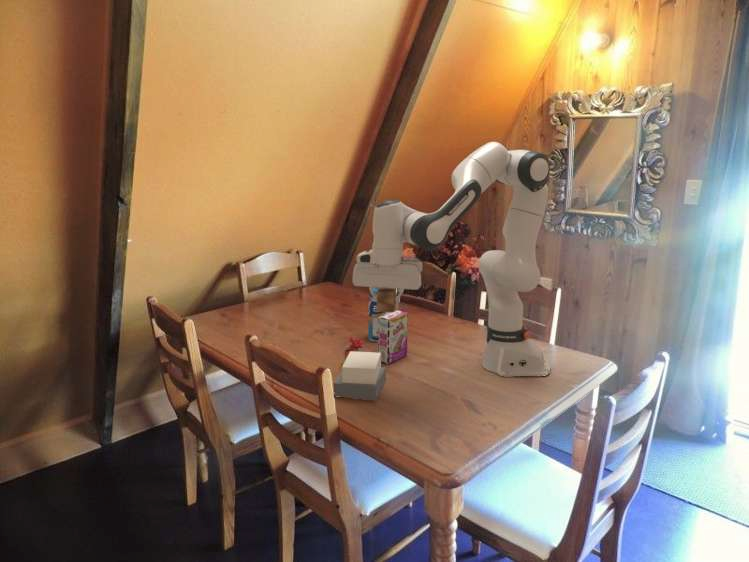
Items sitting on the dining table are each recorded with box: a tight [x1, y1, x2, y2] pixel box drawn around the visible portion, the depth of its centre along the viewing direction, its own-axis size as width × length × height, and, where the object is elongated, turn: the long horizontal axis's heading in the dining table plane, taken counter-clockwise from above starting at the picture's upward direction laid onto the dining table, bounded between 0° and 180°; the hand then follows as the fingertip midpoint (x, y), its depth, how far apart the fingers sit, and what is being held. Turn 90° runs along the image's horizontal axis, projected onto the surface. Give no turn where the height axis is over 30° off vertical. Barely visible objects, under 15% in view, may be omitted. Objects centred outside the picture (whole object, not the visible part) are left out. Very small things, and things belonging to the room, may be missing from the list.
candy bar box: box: [377, 309, 409, 365], centre depth 195 cm, size 11×5×16 cm, turn 141°
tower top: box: [341, 351, 382, 384], centre depth 172 cm, size 10×13×5 cm
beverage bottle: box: [367, 287, 391, 343], centre depth 214 cm, size 8×8×20 cm
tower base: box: [333, 366, 387, 402], centre depth 173 cm, size 13×15×5 cm
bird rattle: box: [342, 336, 365, 361], centre depth 189 cm, size 6×11×9 cm
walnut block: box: [376, 287, 397, 313], centre depth 165 cm, size 5×5×6 cm
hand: (386, 301), depth 166 cm, fingers closed on walnut block, 5 cm apart
